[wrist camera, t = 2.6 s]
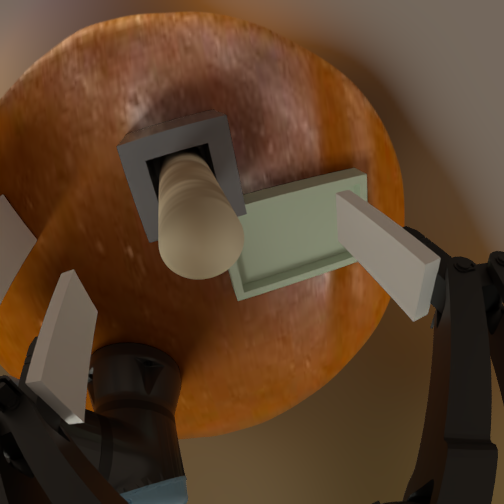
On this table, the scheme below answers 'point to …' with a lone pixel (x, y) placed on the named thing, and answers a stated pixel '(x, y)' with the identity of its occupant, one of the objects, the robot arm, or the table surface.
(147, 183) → the square block with hole
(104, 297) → the table surface
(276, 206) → the tray
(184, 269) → the dowel
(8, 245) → the milk carton
